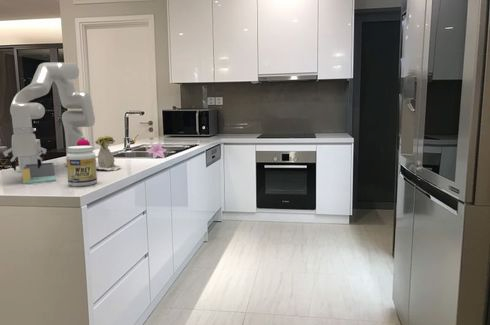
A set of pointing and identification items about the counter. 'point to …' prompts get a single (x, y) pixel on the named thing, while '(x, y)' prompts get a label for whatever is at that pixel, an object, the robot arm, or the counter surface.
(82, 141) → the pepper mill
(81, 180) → the supplement tub
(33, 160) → the supplement box
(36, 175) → the tub
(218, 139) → the counter surface
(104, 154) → the potted plant
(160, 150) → the lily
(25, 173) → the lid
